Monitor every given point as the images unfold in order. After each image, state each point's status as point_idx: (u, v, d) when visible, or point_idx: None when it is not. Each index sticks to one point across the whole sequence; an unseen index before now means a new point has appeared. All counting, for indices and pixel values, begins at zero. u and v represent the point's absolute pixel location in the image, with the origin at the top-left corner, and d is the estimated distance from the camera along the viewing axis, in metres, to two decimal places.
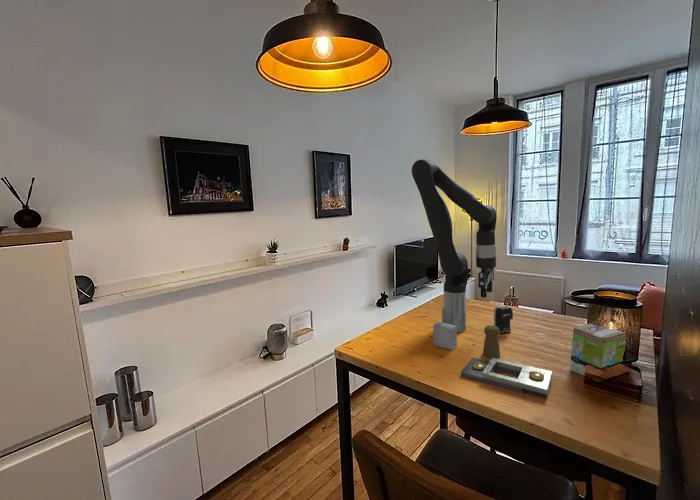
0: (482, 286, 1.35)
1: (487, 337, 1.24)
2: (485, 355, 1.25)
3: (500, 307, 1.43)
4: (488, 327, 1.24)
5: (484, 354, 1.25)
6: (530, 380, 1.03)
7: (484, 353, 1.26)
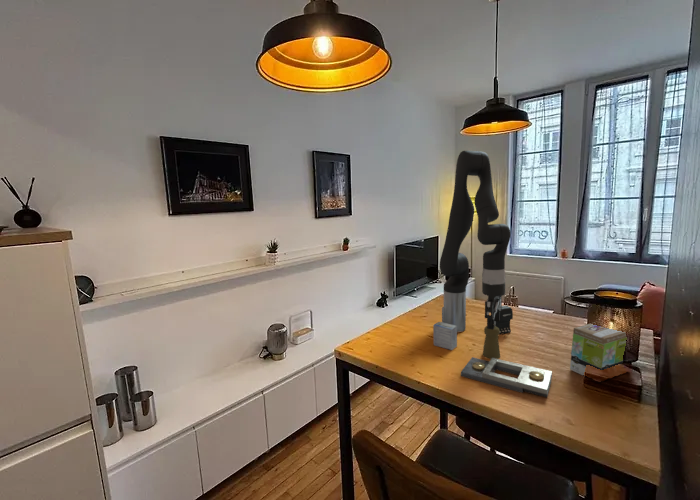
0: (489, 317, 1.18)
1: (487, 337, 1.24)
2: (485, 355, 1.25)
3: None
4: None
5: (484, 354, 1.25)
6: (530, 380, 1.03)
7: (484, 353, 1.26)
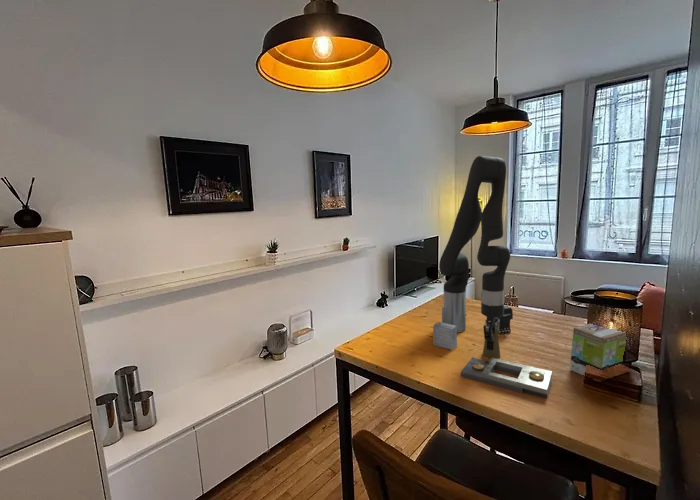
0: (489, 339, 1.21)
1: None
2: (485, 355, 1.25)
3: None
4: None
5: (484, 354, 1.25)
6: (530, 380, 1.03)
7: (484, 353, 1.25)
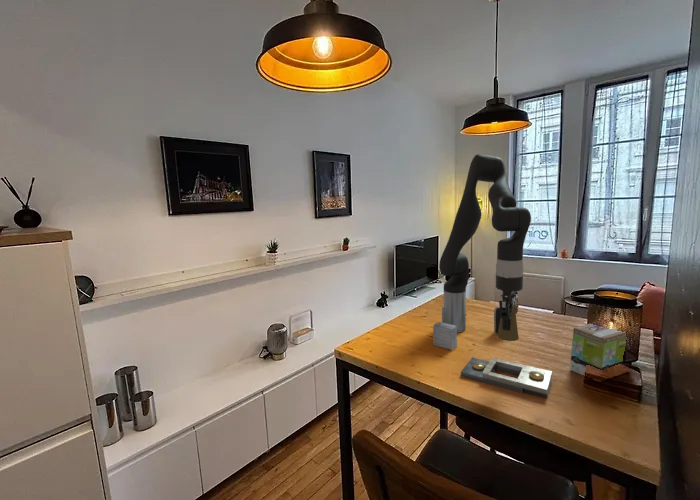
0: (505, 317, 1.03)
1: None
2: (501, 337, 1.07)
3: None
4: None
5: (500, 336, 1.08)
6: (530, 380, 1.03)
7: (499, 334, 1.08)
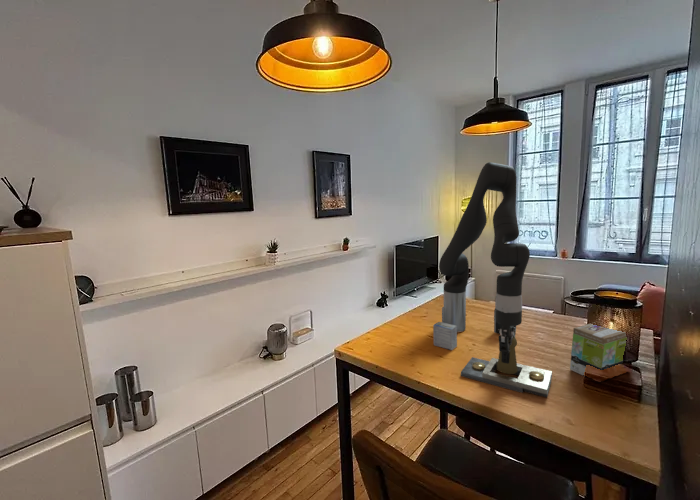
0: (505, 351, 1.04)
1: None
2: (500, 369, 1.09)
3: None
4: None
5: (499, 368, 1.09)
6: (530, 380, 1.03)
7: (499, 367, 1.09)
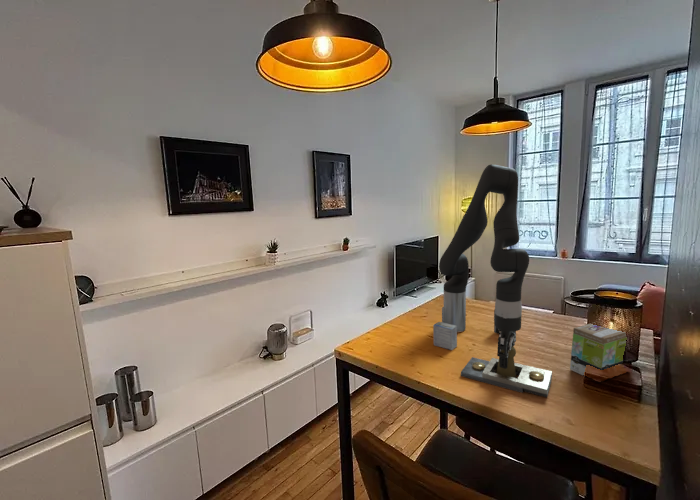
0: (503, 355, 1.03)
1: None
2: None
3: None
4: None
5: None
6: (530, 380, 1.03)
7: None
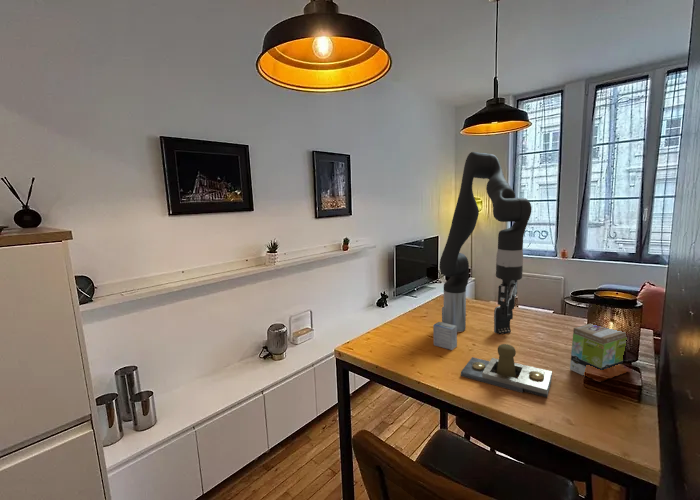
0: (503, 303, 1.04)
1: (501, 358, 1.08)
2: None
3: None
4: (502, 347, 1.08)
5: None
6: (530, 380, 1.03)
7: None
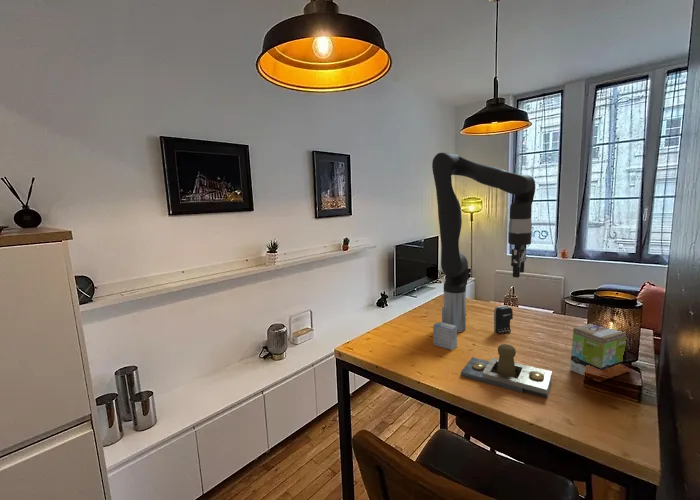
0: (516, 264, 1.21)
1: (501, 358, 1.08)
2: None
3: (500, 307, 1.43)
4: (502, 347, 1.08)
5: None
6: (530, 380, 1.03)
7: None
